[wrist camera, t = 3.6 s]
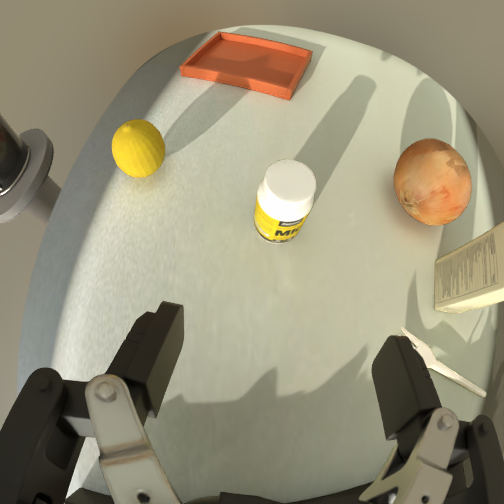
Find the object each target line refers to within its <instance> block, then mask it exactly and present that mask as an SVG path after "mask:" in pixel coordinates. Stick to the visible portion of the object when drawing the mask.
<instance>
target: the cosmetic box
mask: <svg viewBox="0 0 504 504" xmlns="http://www.w3.org/2000/svg"><path fill="white" fill-rule="evenodd" d="M501 301H504V221H503V222H502V223H500V224H499V225H497V226H495V227H494V228H492V229H491V230H489V231H487V232H486V233H484V234H482V235H481V236H479V237H477V238H476V239H474V240H472V241H470V242H469V243H467V244H465V245H463V246H462V247H460V248H458V249H456V250H454V251H453V252H451V253H449V254H447V255H445V256H443V257H441V258H439V259H438V260H436V266H435V310H440V311H444V312H450V313H460V312H464V311H469V310H472V309H476V308H480V307H484V306H487V305H491V304H494V303H498V302H501Z"/></svg>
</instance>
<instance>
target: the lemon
mask: <svg viewBox="0 0 504 504" xmlns="http://www.w3.org/2000/svg"><path fill="white" fill-rule="evenodd" d="M112 152H113V156H114V159H115V161H116V163H117V165H118V166H119V168H120V169H121V170H122V171H123V172H124V173H126V174H128V175H130V176H132V177H137V178H140V177H146V176H149V175H151V174H153V173H154V172H155V171H157V169H158V168H159V167H160V166H161V164H162V162H163V159H164V156H165V145H164V141H163V138H162V136H161V134H160V132H159V131H158V130H157V128H156V127H155V126H154V125H153V124H151V123H150V122H148V121H146V120H141V119H135V120H130V121H128V122H126V123H124V124H123V125H122V126H120V127H119V129H118V130H117V131H116V133H115V135H114V137H113V141H112Z"/></svg>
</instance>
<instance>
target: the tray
mask: <svg viewBox="0 0 504 504" xmlns="http://www.w3.org/2000/svg"><path fill="white" fill-rule="evenodd" d="M312 53H313V51H310V50H307V49H303V48H300V47H296V46H292V45H288V44H284V43H280V42H276V41H272V40H267V39H262V38H257V37H252V36H246V35H240V34H233V33H226V32H218V33H216V34H215V35H214V36H213V37H212V38H210V39H209V40H208V41H207V42H206V43H205V44H203V45H202V46H201V47H200V48H199V49H198V50H197V51H196V52H195V53H193V54H192V55H191V56H190V57H189V58H188V59H187V60H186V61H185V62H184V63H183V64H182V65H181V66H180V70H181V76H186V77H192V78H199V79H204V80H210V81H215V82H220V83H225V84H230V85H234V86H239V87H243V88H247V89H251V90H255V91H259V92H263V93H266V94H270V95H273V96H277V97H280V98H283V99H287V100H290V99H291V97H292V95H293V93H294V91H295V89H296V87H297V85H298V83H299V81H300V79H301V77H302V76H303V74H304V72H305V70H306V68H307V66H308V64H309V62H310V61H311V57H312Z"/></svg>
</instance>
